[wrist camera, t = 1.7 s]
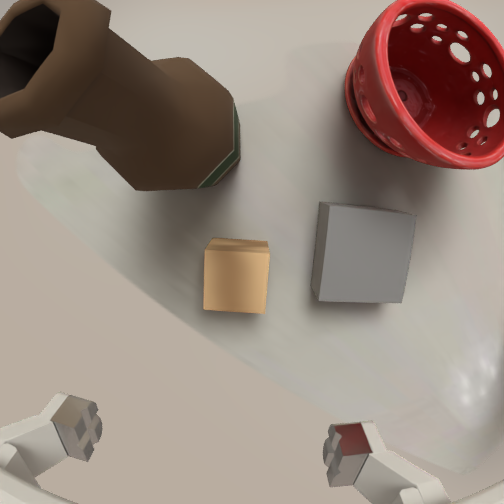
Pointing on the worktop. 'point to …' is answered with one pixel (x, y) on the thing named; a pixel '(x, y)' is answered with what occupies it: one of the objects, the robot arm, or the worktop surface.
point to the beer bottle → (113, 97)
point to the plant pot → (428, 86)
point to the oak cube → (236, 275)
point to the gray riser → (361, 253)
